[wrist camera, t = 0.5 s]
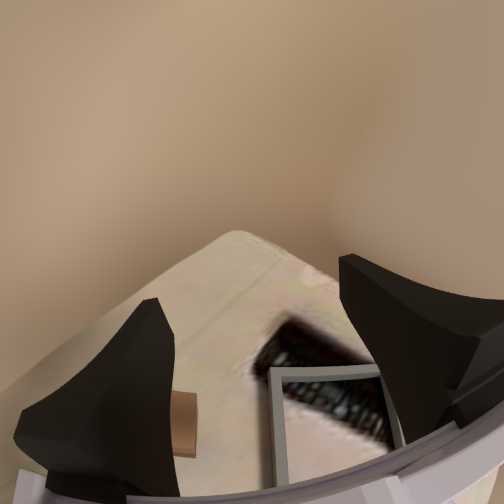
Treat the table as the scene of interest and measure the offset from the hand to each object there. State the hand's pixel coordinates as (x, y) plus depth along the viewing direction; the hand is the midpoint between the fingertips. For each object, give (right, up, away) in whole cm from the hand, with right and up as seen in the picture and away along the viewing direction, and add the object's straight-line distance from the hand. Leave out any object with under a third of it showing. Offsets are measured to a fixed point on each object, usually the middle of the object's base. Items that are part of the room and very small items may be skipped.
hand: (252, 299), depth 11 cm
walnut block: (-7, -14, +11) cm, 19 cm away
